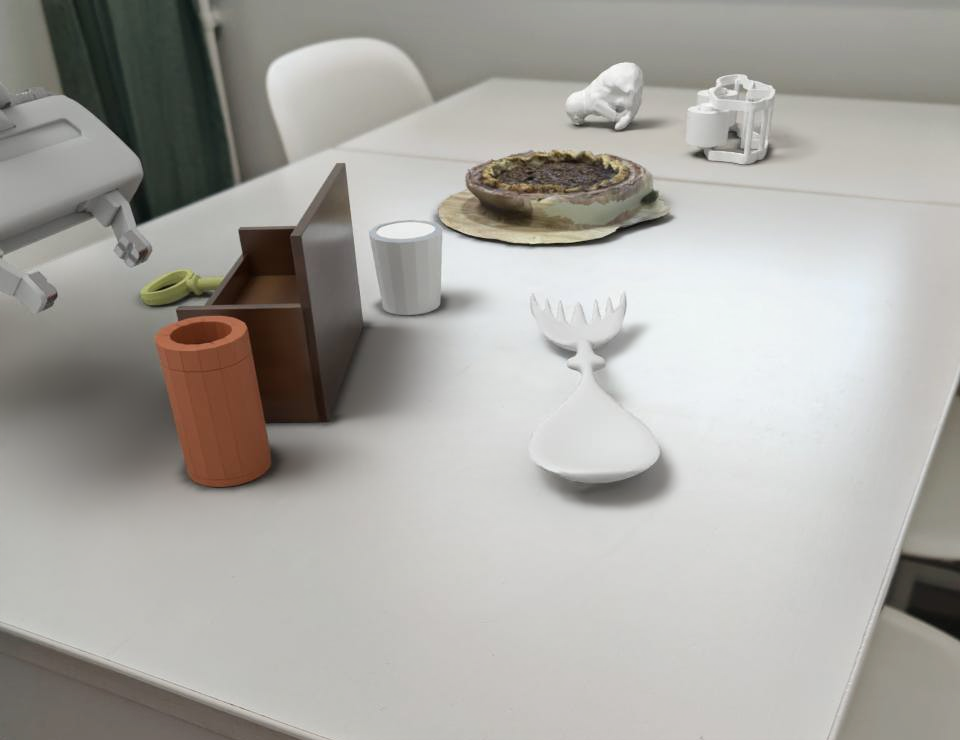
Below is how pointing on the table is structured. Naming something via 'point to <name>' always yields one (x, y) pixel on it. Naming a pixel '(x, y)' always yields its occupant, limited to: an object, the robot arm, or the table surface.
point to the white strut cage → (731, 119)
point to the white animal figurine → (609, 96)
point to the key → (177, 286)
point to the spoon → (589, 406)
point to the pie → (552, 197)
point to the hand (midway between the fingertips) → (97, 281)
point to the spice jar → (215, 399)
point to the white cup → (408, 265)
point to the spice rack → (297, 304)
